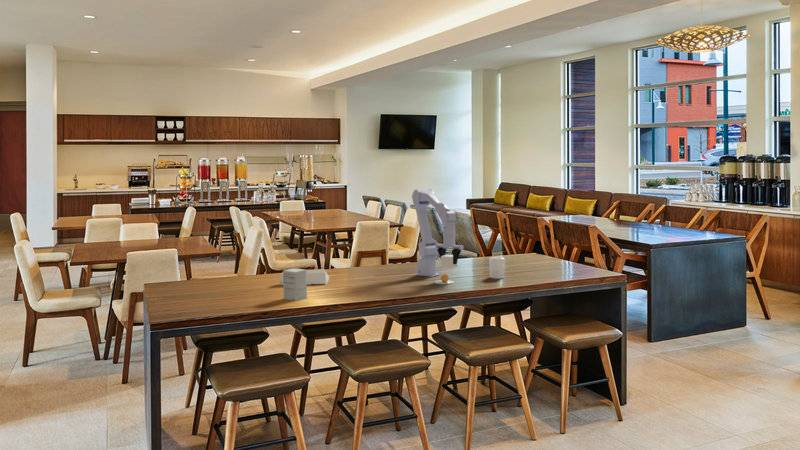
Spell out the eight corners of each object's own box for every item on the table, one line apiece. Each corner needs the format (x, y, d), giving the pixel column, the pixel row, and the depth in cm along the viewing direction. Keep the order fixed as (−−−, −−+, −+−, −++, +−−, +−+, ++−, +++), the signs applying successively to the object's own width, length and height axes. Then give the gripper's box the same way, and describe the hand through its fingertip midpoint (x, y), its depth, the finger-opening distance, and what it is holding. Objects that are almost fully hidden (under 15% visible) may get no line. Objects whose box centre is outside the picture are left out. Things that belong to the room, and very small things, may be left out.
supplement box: (294, 296, 318) (294, 267, 317) (307, 298, 314) (306, 269, 313) (283, 299, 312) (282, 270, 311) (295, 301, 308) (295, 271, 307)
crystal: (328, 273, 354) (278, 275, 350) (329, 268, 348) (278, 270, 343) (329, 287, 351) (279, 290, 347) (330, 282, 345) (279, 285, 340)
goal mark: (429, 283, 346) (429, 282, 346) (440, 279, 355) (440, 279, 355) (447, 285, 341) (447, 284, 341) (457, 281, 349) (457, 281, 349)
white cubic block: (441, 267, 351) (440, 256, 350) (447, 265, 355) (446, 254, 355) (451, 268, 347) (451, 257, 347) (457, 266, 352) (457, 255, 351)
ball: (440, 272, 348) (443, 277, 351) (438, 279, 346) (441, 283, 349) (447, 273, 346) (450, 277, 349) (445, 279, 344) (448, 284, 347)
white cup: (504, 279, 355) (504, 259, 354) (488, 278, 357) (488, 258, 356) (505, 276, 363) (505, 256, 362) (489, 276, 364) (489, 256, 363)
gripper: (432, 235, 350) (432, 263, 352) (458, 237, 342) (458, 265, 344) (439, 234, 356) (439, 261, 358) (465, 236, 348) (465, 263, 350)
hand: (449, 263), depth 351 cm, fingers closed on white cubic block, 6 cm apart
